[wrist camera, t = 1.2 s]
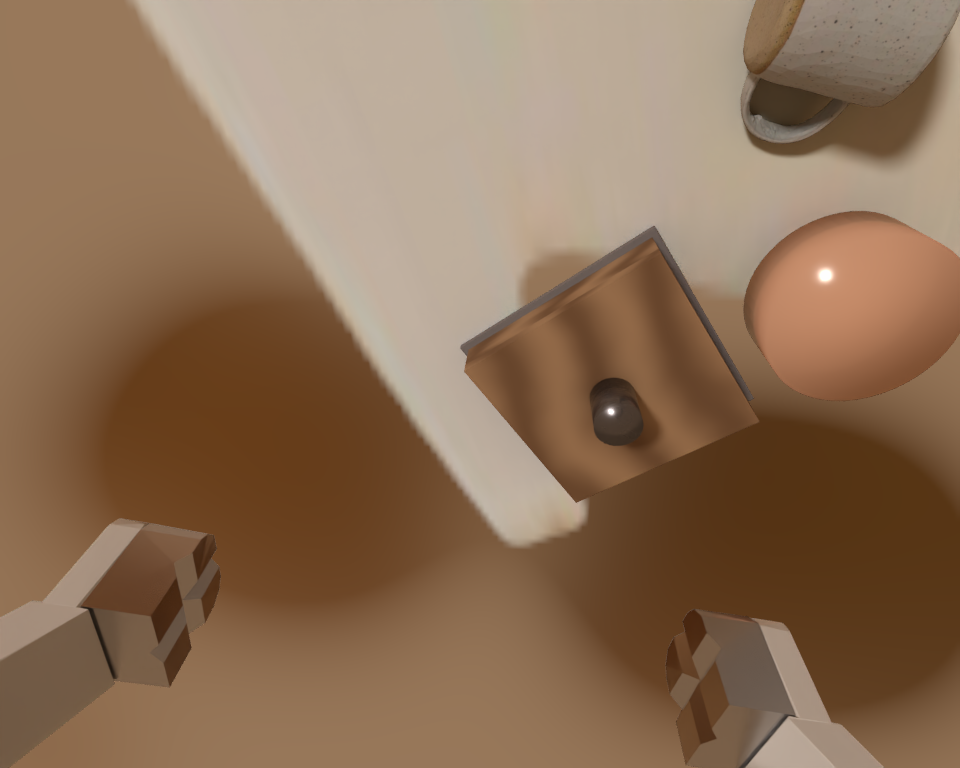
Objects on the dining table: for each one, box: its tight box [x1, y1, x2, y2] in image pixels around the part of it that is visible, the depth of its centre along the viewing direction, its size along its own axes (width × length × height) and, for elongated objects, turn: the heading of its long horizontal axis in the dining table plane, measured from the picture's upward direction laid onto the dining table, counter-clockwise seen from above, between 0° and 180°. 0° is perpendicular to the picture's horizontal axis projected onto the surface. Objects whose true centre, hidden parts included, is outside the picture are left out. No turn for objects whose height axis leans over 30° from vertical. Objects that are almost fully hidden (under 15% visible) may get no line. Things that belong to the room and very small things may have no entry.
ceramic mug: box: [741, 0, 960, 144], centre depth 31 cm, size 11×8×8 cm
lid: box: [464, 238, 759, 503], centre depth 44 cm, size 17×17×8 cm
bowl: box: [744, 211, 960, 401], centre depth 39 cm, size 12×12×7 cm
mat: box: [461, 226, 754, 401], centre depth 48 cm, size 18×18×1 cm
